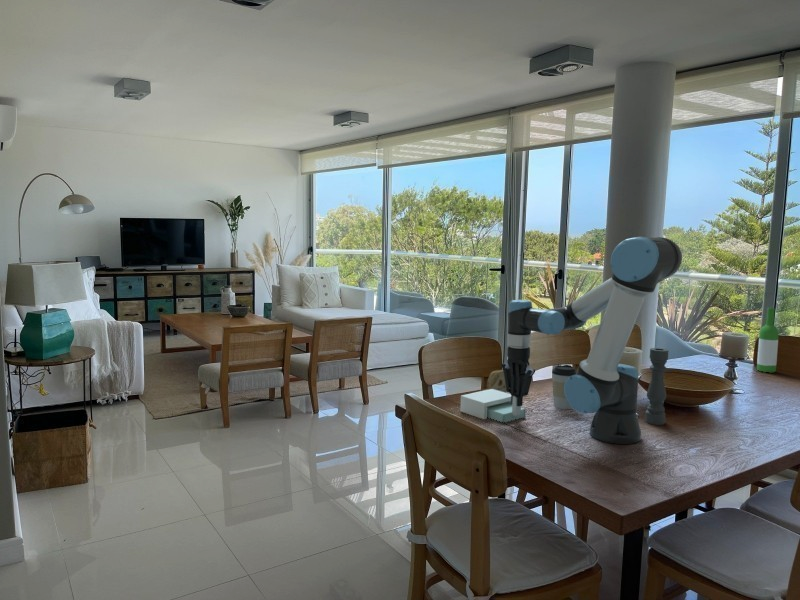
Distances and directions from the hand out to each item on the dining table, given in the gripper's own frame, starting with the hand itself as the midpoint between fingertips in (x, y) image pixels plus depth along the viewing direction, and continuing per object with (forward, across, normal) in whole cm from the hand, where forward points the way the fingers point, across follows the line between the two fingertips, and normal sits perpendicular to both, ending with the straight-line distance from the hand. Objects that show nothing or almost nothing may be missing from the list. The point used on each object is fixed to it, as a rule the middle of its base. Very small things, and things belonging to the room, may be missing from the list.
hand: (516, 414), depth 203 cm
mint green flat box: (+2, +6, 0) cm, 6 cm away
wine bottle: (+2, -20, -153) cm, 154 cm away
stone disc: (+2, +26, -19) cm, 32 cm away
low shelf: (+2, +13, 0) cm, 13 cm away
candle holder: (+2, -29, -37) cm, 47 cm away
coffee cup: (+2, +1, -27) cm, 27 cm away
